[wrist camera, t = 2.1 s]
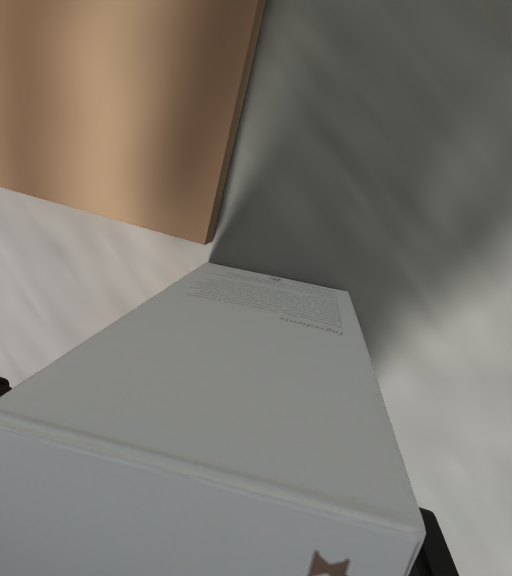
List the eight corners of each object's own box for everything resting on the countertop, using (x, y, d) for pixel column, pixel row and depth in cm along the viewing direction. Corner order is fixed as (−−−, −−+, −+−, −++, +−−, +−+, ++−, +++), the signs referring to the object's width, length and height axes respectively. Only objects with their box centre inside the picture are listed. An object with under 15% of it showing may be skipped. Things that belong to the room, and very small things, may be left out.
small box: (206, 258, 15) (-45, 397, 4) (352, 289, 14) (444, 529, 4) (180, 437, 17) (-34, 809, 7) (306, 470, 16) (288, 937, 6)
